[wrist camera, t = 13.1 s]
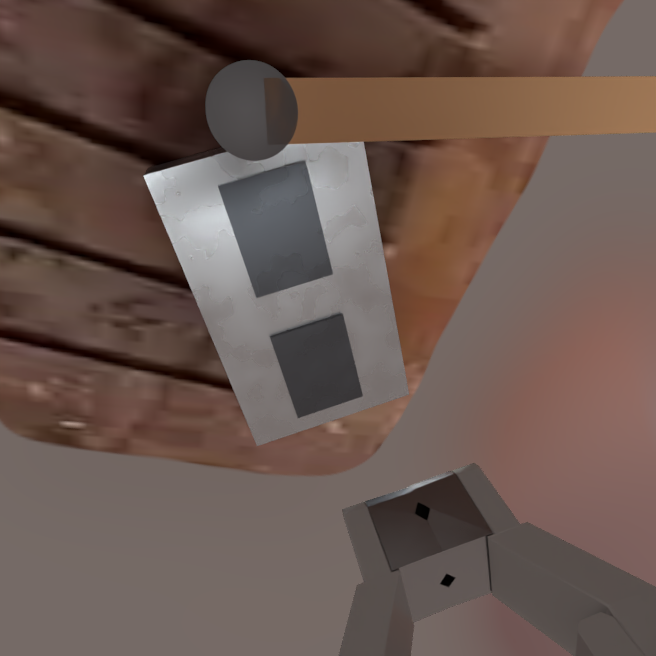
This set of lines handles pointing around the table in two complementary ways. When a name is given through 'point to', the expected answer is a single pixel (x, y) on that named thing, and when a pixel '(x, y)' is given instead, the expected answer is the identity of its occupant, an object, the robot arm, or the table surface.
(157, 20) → the table surface
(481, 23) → the table surface
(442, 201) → the table surface
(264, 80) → the swing bar
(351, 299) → the block
